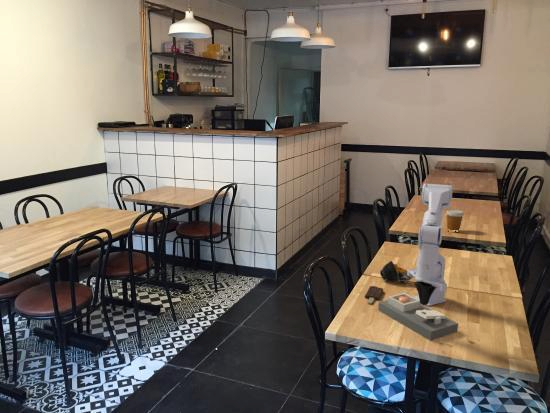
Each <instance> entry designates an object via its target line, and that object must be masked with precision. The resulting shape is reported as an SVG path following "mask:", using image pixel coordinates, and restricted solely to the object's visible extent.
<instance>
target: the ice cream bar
mask: <svg viewBox="0 0 550 413" xmlns="http://www.w3.org/2000/svg"><path fill="white" fill-rule="evenodd" d="M383 293H384V288H382V287H378V286H375V285H369V287H368V290H367V291H366V293H365V295H364V299H366V300H367V304H369V305H372V304H373V302H374V301H377V302H380V300H381V297H382V295H383Z"/></svg>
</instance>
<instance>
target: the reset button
mask: <svg viewBox="0 0 550 413" xmlns="http://www.w3.org/2000/svg"><path fill="white" fill-rule="evenodd" d="M399 301H400V302H402V303H404V304H405V303H409V301H410V299H409V298H408V297H404V296H401V297H399Z"/></svg>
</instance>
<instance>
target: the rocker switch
mask: <svg viewBox="0 0 550 413" xmlns="http://www.w3.org/2000/svg"><path fill="white" fill-rule="evenodd" d="M416 314H418V315H420V316H422V317H423V318H425V319H435V318H436V317H441V319H445V317H447V316H446V315H445V314H444V313H441V312H439V311H437V310H436V309H435V310H434V309H431V310H416Z"/></svg>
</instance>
